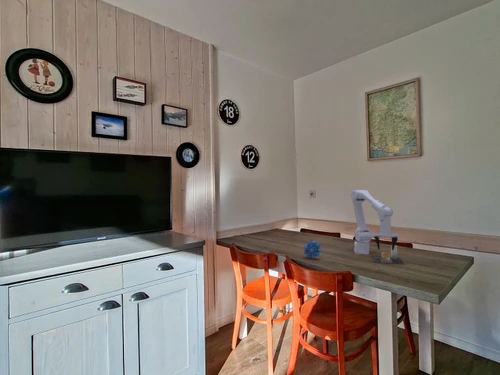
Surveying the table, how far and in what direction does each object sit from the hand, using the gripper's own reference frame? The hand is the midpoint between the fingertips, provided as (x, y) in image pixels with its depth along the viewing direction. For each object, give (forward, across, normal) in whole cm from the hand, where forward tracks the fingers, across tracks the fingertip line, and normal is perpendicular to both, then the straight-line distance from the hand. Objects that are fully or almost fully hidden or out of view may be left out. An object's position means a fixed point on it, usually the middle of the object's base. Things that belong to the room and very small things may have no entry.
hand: (385, 249), depth 159 cm
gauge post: (+7, +6, +8) cm, 12 cm away
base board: (+8, +1, +3) cm, 9 cm away
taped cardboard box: (+7, 0, 0) cm, 7 cm away
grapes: (+8, -43, -2) cm, 44 cm away
